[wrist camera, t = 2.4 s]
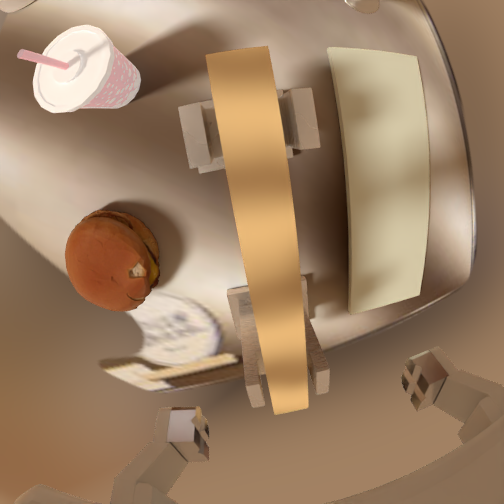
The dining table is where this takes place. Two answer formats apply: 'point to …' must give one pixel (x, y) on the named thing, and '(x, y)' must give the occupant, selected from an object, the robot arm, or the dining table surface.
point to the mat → (383, 173)
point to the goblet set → (364, 5)
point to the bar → (263, 214)
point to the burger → (112, 260)
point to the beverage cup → (82, 72)
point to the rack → (209, 159)
